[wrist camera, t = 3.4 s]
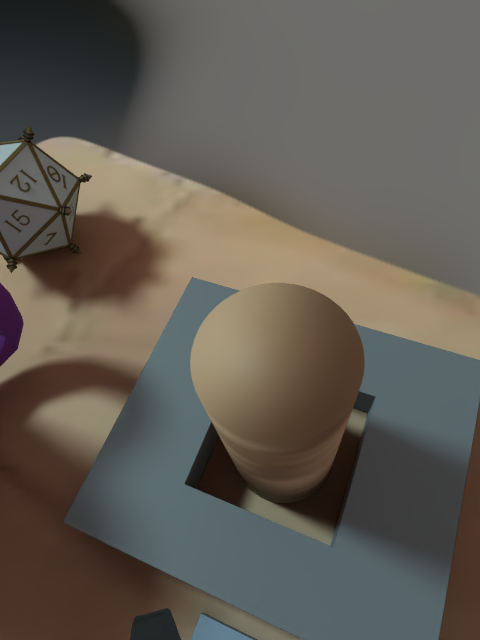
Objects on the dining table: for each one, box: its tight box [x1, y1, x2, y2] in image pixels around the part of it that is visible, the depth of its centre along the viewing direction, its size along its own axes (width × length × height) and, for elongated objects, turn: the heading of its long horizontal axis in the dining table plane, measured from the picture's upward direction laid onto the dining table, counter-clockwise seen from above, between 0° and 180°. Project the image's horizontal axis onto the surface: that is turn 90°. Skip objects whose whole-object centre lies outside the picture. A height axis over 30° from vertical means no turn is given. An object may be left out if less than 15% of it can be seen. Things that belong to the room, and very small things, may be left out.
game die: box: [0, 127, 92, 273], centre depth 29 cm, size 9×8×10 cm
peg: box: [190, 283, 365, 503], centre depth 18 cm, size 5×5×12 cm
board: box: [63, 277, 480, 640], centre depth 23 cm, size 16×14×2 cm
